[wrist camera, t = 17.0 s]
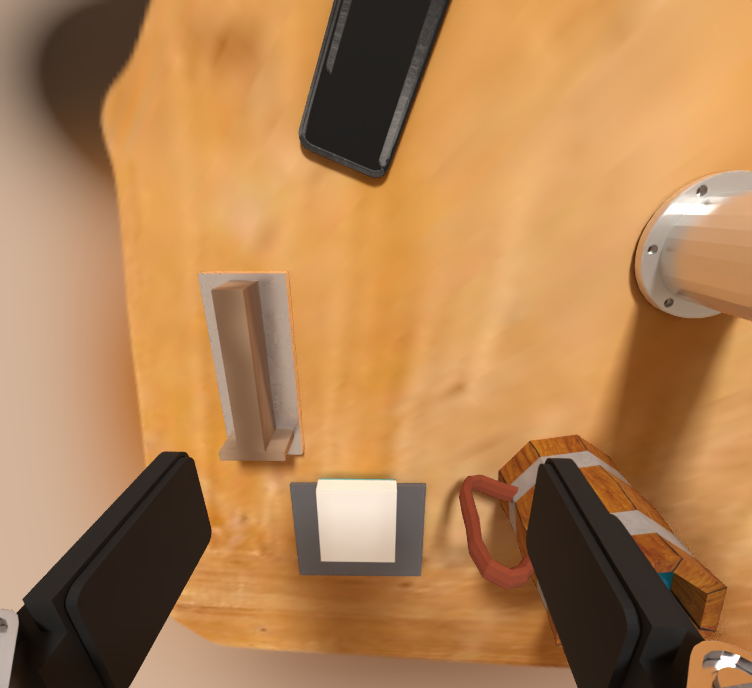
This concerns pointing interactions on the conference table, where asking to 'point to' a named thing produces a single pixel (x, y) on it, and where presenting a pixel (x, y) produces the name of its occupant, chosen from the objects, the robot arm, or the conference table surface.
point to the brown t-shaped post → (247, 375)
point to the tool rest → (277, 344)
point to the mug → (639, 517)
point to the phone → (368, 79)
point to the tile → (357, 519)
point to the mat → (405, 562)
